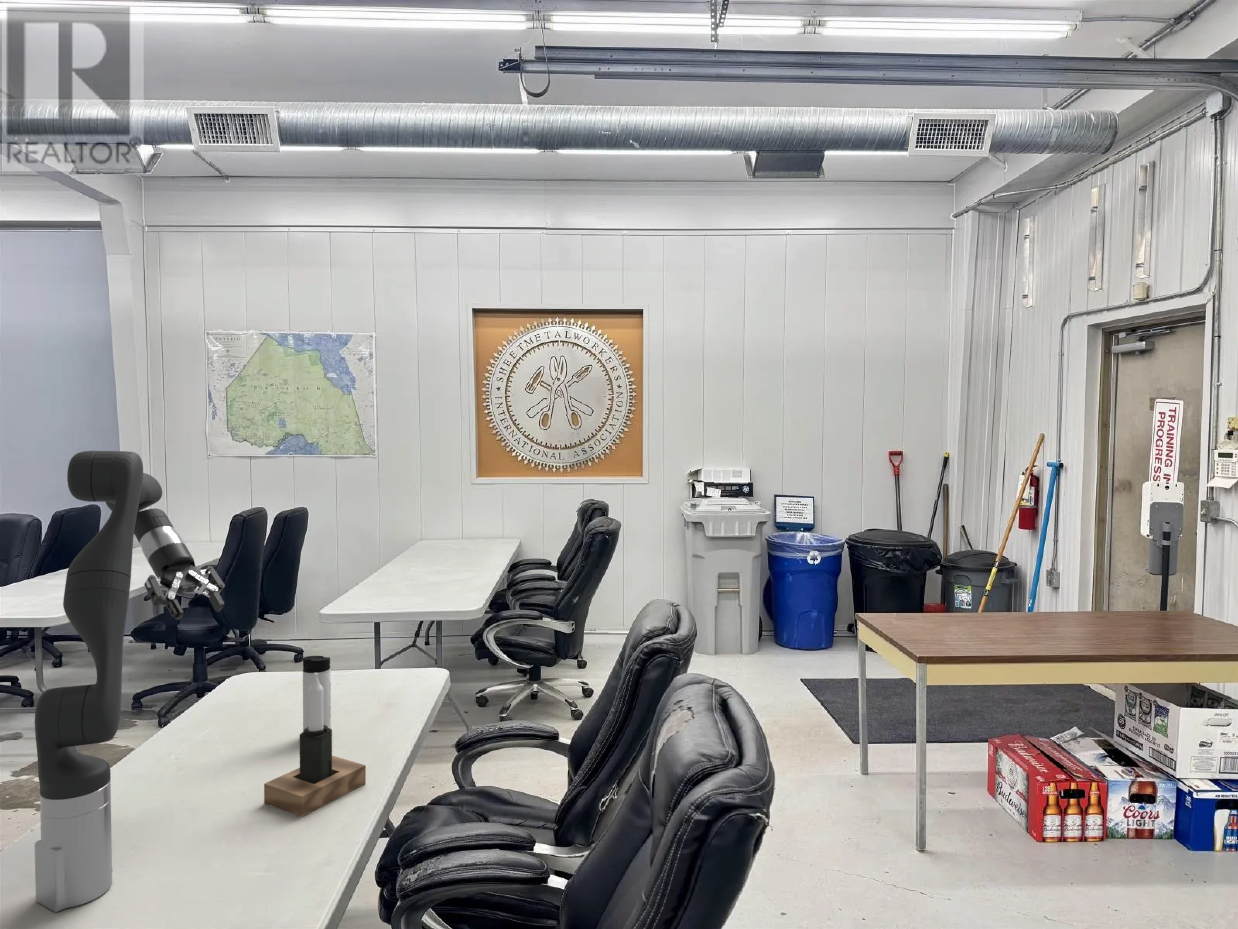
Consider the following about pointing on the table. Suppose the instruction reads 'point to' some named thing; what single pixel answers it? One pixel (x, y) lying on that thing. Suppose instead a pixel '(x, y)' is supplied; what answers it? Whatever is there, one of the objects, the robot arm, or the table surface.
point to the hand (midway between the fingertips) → (201, 613)
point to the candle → (315, 739)
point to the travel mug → (324, 676)
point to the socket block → (314, 788)
